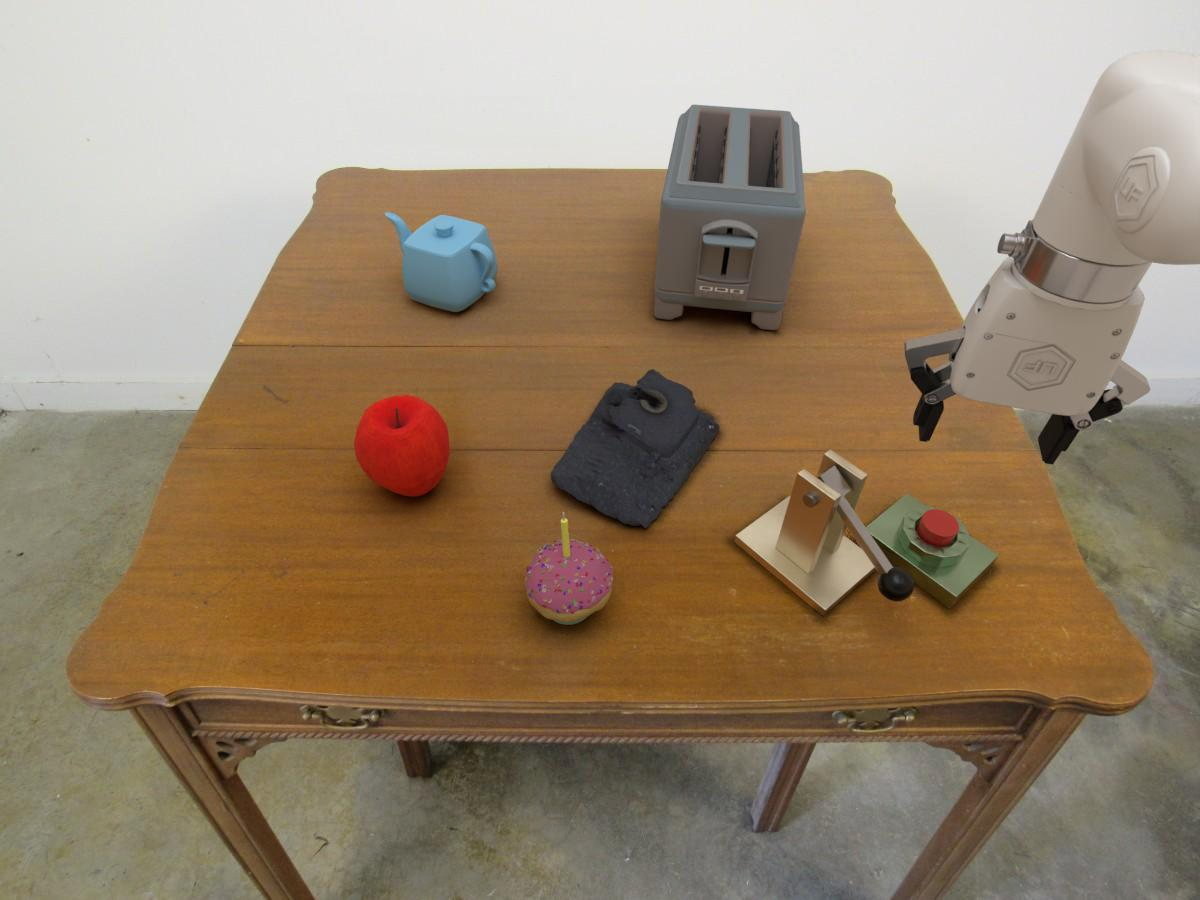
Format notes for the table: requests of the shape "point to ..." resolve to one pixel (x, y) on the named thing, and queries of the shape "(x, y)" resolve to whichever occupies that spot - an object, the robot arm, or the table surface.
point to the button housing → (930, 552)
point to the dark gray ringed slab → (636, 449)
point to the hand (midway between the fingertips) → (982, 441)
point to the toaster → (730, 213)
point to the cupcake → (568, 579)
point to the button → (937, 528)
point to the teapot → (446, 261)
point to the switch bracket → (811, 538)
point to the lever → (869, 542)
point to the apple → (403, 444)
